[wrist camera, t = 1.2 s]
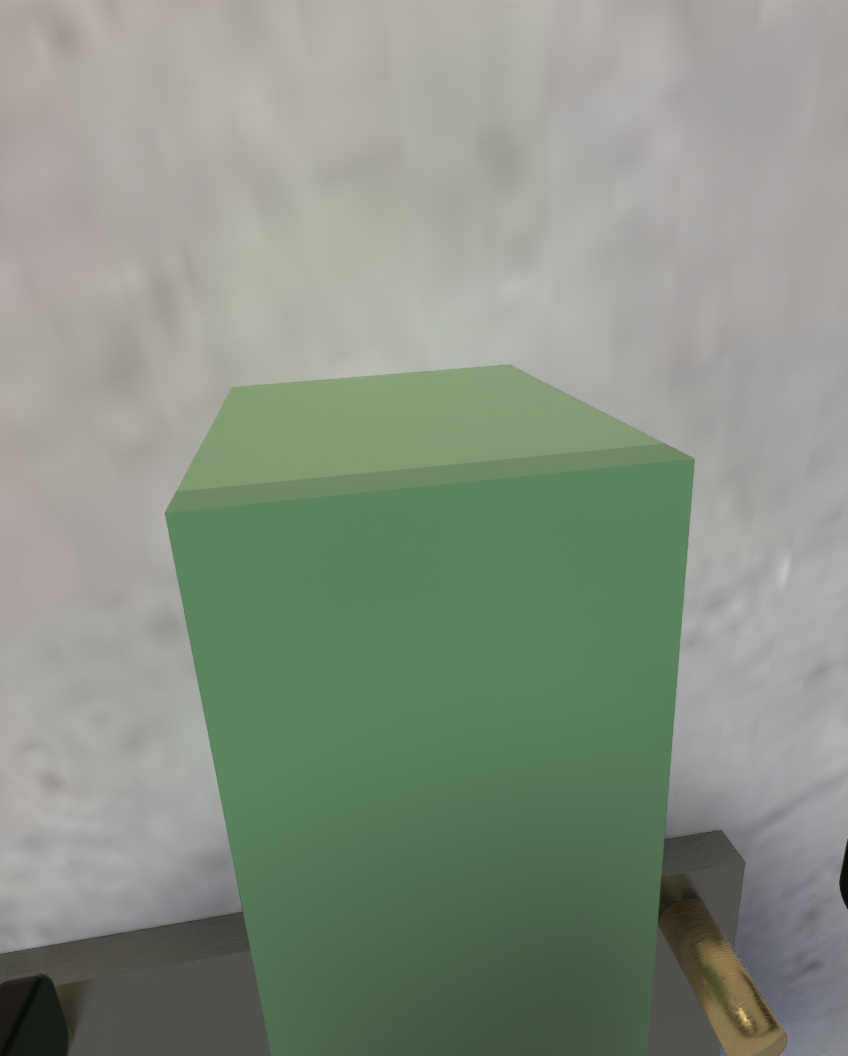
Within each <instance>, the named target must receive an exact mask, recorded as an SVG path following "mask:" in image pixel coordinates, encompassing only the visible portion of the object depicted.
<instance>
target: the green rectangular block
mask: <svg viewBox="0 0 848 1056" xmlns="http://www.w3.org/2000/svg"><path fill="white" fill-rule="evenodd" d="M694 461H695V459H694V458H692V457H690V456H688V455H686V454H684V453H683V452H681V451H679V450H677V449H675V448H673V447H671V446H669V445H667V444H665V443H663V442H661V441H659V440H657V439H655V438H653V437H651V436H649V435H647V434H645V433H643V432H641V431H639V430H637V429H635V428H633V427H631V426H629V425H627V424H625V423H623V422H622V421H620V420H618V419H616V418H614V417H612V416H610V415H608V414H606V413H604V412H602V411H600V410H598V409H596V408H594V407H592V406H590V405H588V404H586V403H584V402H582V401H580V400H578V399H576V398H574V397H572V396H570V395H568V394H566V393H564V392H563V391H561V390H559V389H557V388H555V387H553V386H551V385H549V384H547V383H545V382H543V381H541V380H539V379H537V378H535V377H533V376H531V375H529V374H527V373H525V372H523V371H521V370H519V369H517V368H515V367H513V366H511V365H498V366H486V367H474V368H461V369H449V370H437V371H425V372H413V373H400V374H388V375H376V376H364V377H351V378H339V379H327V380H315V381H303V382H290V383H278V384H266V385H254V386H241V387H232V389H231V391H230V393H229V394H228V396H227V398H226V400H225V402H224V404H223V406H222V407H221V409H220V411H219V413H218V415H217V417H216V419H215V421H214V422H213V424H212V426H211V428H210V430H209V432H208V434H207V435H206V437H205V439H204V441H203V443H202V445H201V447H200V448H199V450H198V452H197V454H196V456H195V458H194V460H193V461H192V463H191V465H190V467H189V469H188V471H187V473H186V474H185V476H184V478H183V480H182V482H181V484H180V486H179V487H178V489H177V491H176V493H175V495H174V497H173V499H172V501H171V502H170V504H169V506H168V508H167V510H166V512H165V516H166V521H167V527H168V532H169V537H170V542H171V547H172V552H173V557H174V562H175V567H176V572H177V578H178V583H179V588H180V593H181V598H182V603H183V608H184V613H185V618H186V623H187V628H188V634H189V639H190V644H191V649H192V654H193V659H194V664H195V669H196V674H197V679H198V685H199V690H200V695H201V700H202V705H203V710H204V715H205V720H206V725H207V730H208V736H209V741H210V746H211V751H212V756H213V761H214V766H215V771H216V776H217V781H218V786H219V792H220V797H221V802H222V807H223V812H224V817H225V822H226V827H227V832H228V837H229V843H230V848H231V853H232V858H233V863H234V868H235V873H236V878H237V883H238V888H239V894H240V899H241V904H242V909H243V914H244V919H245V924H246V929H247V934H248V939H249V944H250V950H251V955H252V960H253V965H254V970H255V975H256V980H257V985H258V990H259V995H260V1001H261V1006H262V1011H263V1016H264V1021H265V1026H266V1031H267V1036H268V1041H269V1046H270V1052H271V1056H647V1049H648V1037H649V1024H650V1012H651V999H652V987H653V974H654V962H655V949H656V937H657V924H658V912H659V899H660V887H661V874H662V861H663V849H664V836H665V824H666V811H667V799H668V786H669V774H670V761H671V749H672V736H673V724H674V711H675V699H676V686H677V674H678V661H679V649H680V636H681V624H682V611H683V599H684V586H685V574H686V561H687V549H688V536H689V524H690V511H691V499H692V486H693V474H694Z"/></svg>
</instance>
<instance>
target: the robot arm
mask: <svg viewBox="0 0 848 1056" xmlns="http://www.w3.org/2000/svg"><path fill="white" fill-rule="evenodd" d="M839 884H840V891H841V895H842V898H843V900H844V903H845V905H846V907H847V909H848V839H847V844H846V849H845V854H844V859H843V864H842V870H841V875H840V881H839ZM68 1043H69V1032H68V1025H67V1021H66V1018H65V1016H64V1013H63V1010H62V1007H61V1004H60V1001H59V998H58V995H57V992H56V989H55V986H54V983H53V981H52V979H51V977H50V976H49V975H48V974H47V973H42V972H40V973H34V974H28V975H23V976H17V977H12V978H9V979H6V980H5V981H3V982H2V983H1V984H0V1056H67V1053H68Z"/></svg>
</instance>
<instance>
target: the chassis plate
mask: <svg viewBox="0 0 848 1056" xmlns="http://www.w3.org/2000/svg"><path fill="white" fill-rule="evenodd" d="M744 867H745V861H744V860H743V858H742V857H741V856H740V854H739V853H738V852H737V850H736V849H735V848H734V846H733V845H732V843H731V842H730V841H729V839H728V838H727V837H726V835H725V834H724V833H723V831H722V830H720V831H714V832H708V833H702V834H697V835H691V836H685V837H679V838H673V839H668V840H664V849H663V861H662V874H661V887H660V899H659V912H658V924H657V937H656V949H655V962H654V974H653V987H652V999H651V1012H650V1024H649V1037H648V1049H647V1056H719V1055H720V1047H721V1044H722V1046H723V1048H724V1050H725V1052H726V1054H727V1056H779V1055H780V1054H781V1053H782V1051H783V1050H784V1048H785V1046H786V1043H787V1036H786V1033H785V1032H784V1030H783V1029H782V1027H781V1025H780V1024H779V1022H778V1021H777V1019H776V1017H775V1016H774V1014H773V1013H772V1011H771V1009H770V1008H769V1006H768V1005H767V1003H766V1001H765V1000H764V998H763V996H762V995H761V993H760V992H759V990H758V988H757V987H756V985H755V984H754V982H753V980H752V979H751V977H750V976H749V974H748V972H747V971H746V969H745V968H744V966H743V964H742V963H741V961H740V960H739V958H738V956H737V955H736V953H735V952H734V942H735V935H736V927H737V920H738V912H739V905H740V897H741V890H742V882H743V875H744ZM40 972H42V973H47V974H48V975H49V976H50V977H51V979H52V981H53V983H54V986H55V989H56V992H57V995H58V998H59V1001H60V1004H61V1007H62V1010H63V1013H64V1016H65V1018H66V1021H67V1025H68V1032H69V1043H68V1053H67V1056H271V1052H270V1046H269V1041H268V1036H267V1031H266V1026H265V1021H264V1016H263V1011H262V1006H261V1001H260V995H259V990H258V985H257V980H256V975H255V970H254V965H253V960H252V955H251V950H250V944H249V939H248V934H247V929H246V924H245V919H244V914H243V913H238V914H232V915H226V916H220V917H215V918H209V919H203V920H197V921H191V922H186V923H180V924H174V925H168V926H162V927H157V928H151V929H145V930H139V931H133V932H128V933H122V934H116V935H110V936H104V937H98V938H93V939H87V940H81V941H75V942H69V943H64V944H58V945H52V946H46V947H40V948H35V949H29V950H23V951H17V952H11V953H6V954H0V984H1V983H2V982H3V981H5V980H6V979H9V978H12V977H17V976H23V975H28V974H34V973H40Z"/></svg>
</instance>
